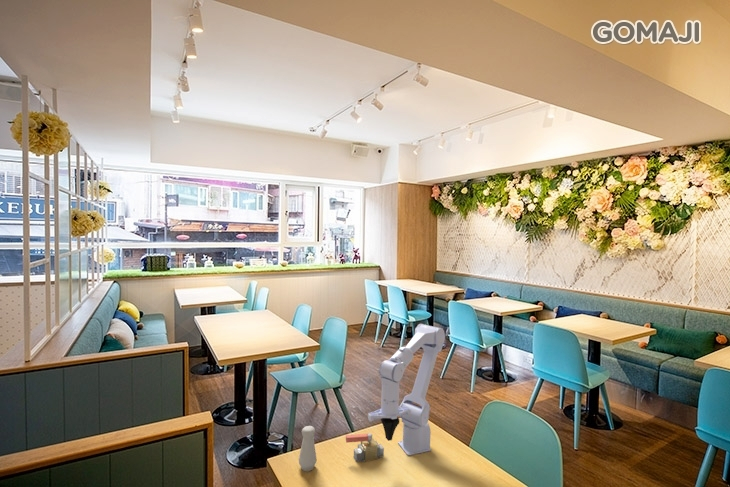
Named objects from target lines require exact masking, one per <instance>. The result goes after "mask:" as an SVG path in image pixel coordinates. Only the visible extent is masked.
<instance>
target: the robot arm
mask: <svg viewBox="0 0 730 487" xmlns="http://www.w3.org/2000/svg"><path fill="white" fill-rule="evenodd" d="M445 339H446V334H445V331H444V328H442V327H437V326H432V325H427V324H424V323H419V324H417V326H416V327H415V329H414V335H413V336H412V337H411V339H410V340H409V342H408V343H406V346H401V347H399V349H397V351H395V352H394V354H392V356H391V357H390V358H389V359H385V360H384V361H382V362H381V363H380V364H379V369H378V371H377V372H378V376H379V378H380V383H381V394H380V395H381V396H380V398H381V400H380V401H381V403H380V408H378V409H377V410H375V411H371V412H368V413H367V419H368V421H369V422H370V423H372V422H374V421H376V420H380V421H381V424H382V426H383V430H384V434H385V439H386V440H387V441H393V437H394V434H395V431H396V428H397V427H398V425H399V424H400V419H401V422H402V424H403V426H402V441H398V442H397V444H398V446H400V448H401V449H402V450H403V451H404V453H405V454H406V455H407V456H413V455H417V454H421V453H427V452H430V451H432V448H431V426H430V424H429V423H428V422H429V418H430V409H431V406H430V404H429V402H428V400H427V399H426V396H427V394H428V393H427V392H428V389H429V385H430V381H431V378H432V376H433V371H434V368H435V365H436V361H437V357H438V355H439V354H438V353H441V352H442V350H443V346H444V342H445ZM420 348H421V349H423V353H422V357H421V360H420V364H419V367H418V371H417V373H416V378H415V381H414V384H413V388H412V390H411V393H409V394H407V395H405V396H404V397H403V400H402V402H400V381H401V380H402V379H403V376H404V373H405V371H406V368H407V367H408V366H409V365H410V363H411V362H412V361H413V360H414V354H415V353H416V352H417V351H418V350H420ZM399 402H400V403H399ZM399 404H400V405H399ZM399 418H400V419H399Z"/></svg>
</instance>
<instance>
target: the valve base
mask: <svg viewBox="0 0 730 487" xmlns="http://www.w3.org/2000/svg"><path fill="white" fill-rule="evenodd" d="M384 453H385V448H384V447H383V445H382V444H381V443H378V442H377V440H375V439H374V437H372V441H361V442H360V443H359V444H357V448H353V459H354V460H355V462H356V463H359V462H361V463H365V462H371V461H375V460H378V459H380V458H381V457H382V458H383V457H384Z"/></svg>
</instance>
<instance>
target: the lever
mask: <svg viewBox="0 0 730 487" xmlns="http://www.w3.org/2000/svg"><path fill="white" fill-rule="evenodd" d="M372 438H373V434H372V433H371V432H369V433H360V434H345V443H358V442H360V443H361V441H372Z"/></svg>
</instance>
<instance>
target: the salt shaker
mask: <svg viewBox="0 0 730 487" xmlns="http://www.w3.org/2000/svg"><path fill="white" fill-rule="evenodd" d="M315 435H316V429H315V427H314V426H312V425H306V426H304V427H303V428H302V429H301V436H302V443H301V447H300V451H299V456H298V464H299V466H300V468H301V470H302V471H304V472H310V471H312V470H314V468H315V466H316V464H317V453H316V445H315V438H314V437H315Z"/></svg>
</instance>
